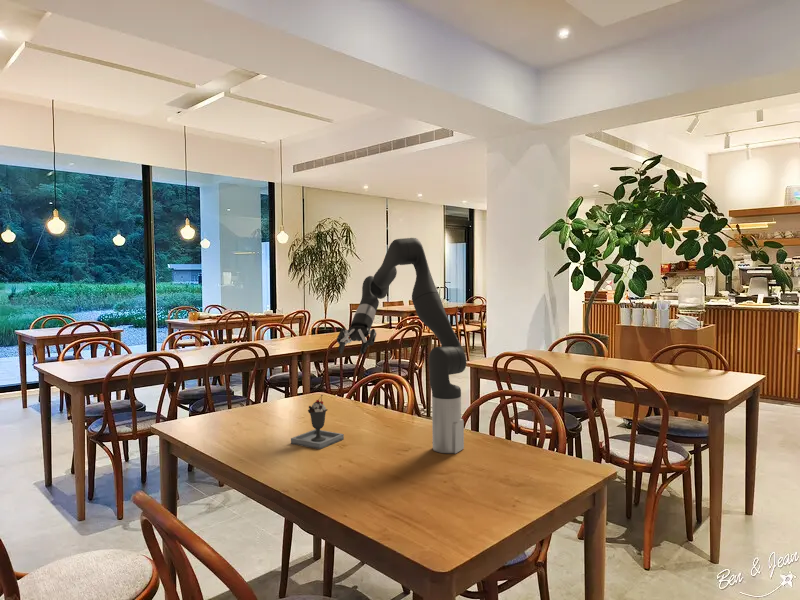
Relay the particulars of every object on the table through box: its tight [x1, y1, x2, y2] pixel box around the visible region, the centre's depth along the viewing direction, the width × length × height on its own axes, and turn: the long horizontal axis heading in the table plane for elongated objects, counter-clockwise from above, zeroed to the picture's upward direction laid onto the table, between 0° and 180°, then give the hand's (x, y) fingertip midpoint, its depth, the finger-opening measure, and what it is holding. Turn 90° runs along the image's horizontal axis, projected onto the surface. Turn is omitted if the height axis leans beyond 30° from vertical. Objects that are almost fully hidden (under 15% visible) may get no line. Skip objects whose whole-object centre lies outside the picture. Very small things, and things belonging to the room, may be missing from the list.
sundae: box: [307, 394, 328, 442], centre depth 184 cm, size 7×7×15 cm
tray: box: [290, 428, 345, 450], centre depth 185 cm, size 13×13×2 cm
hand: (350, 352), depth 196 cm, fingers open, 8 cm apart
